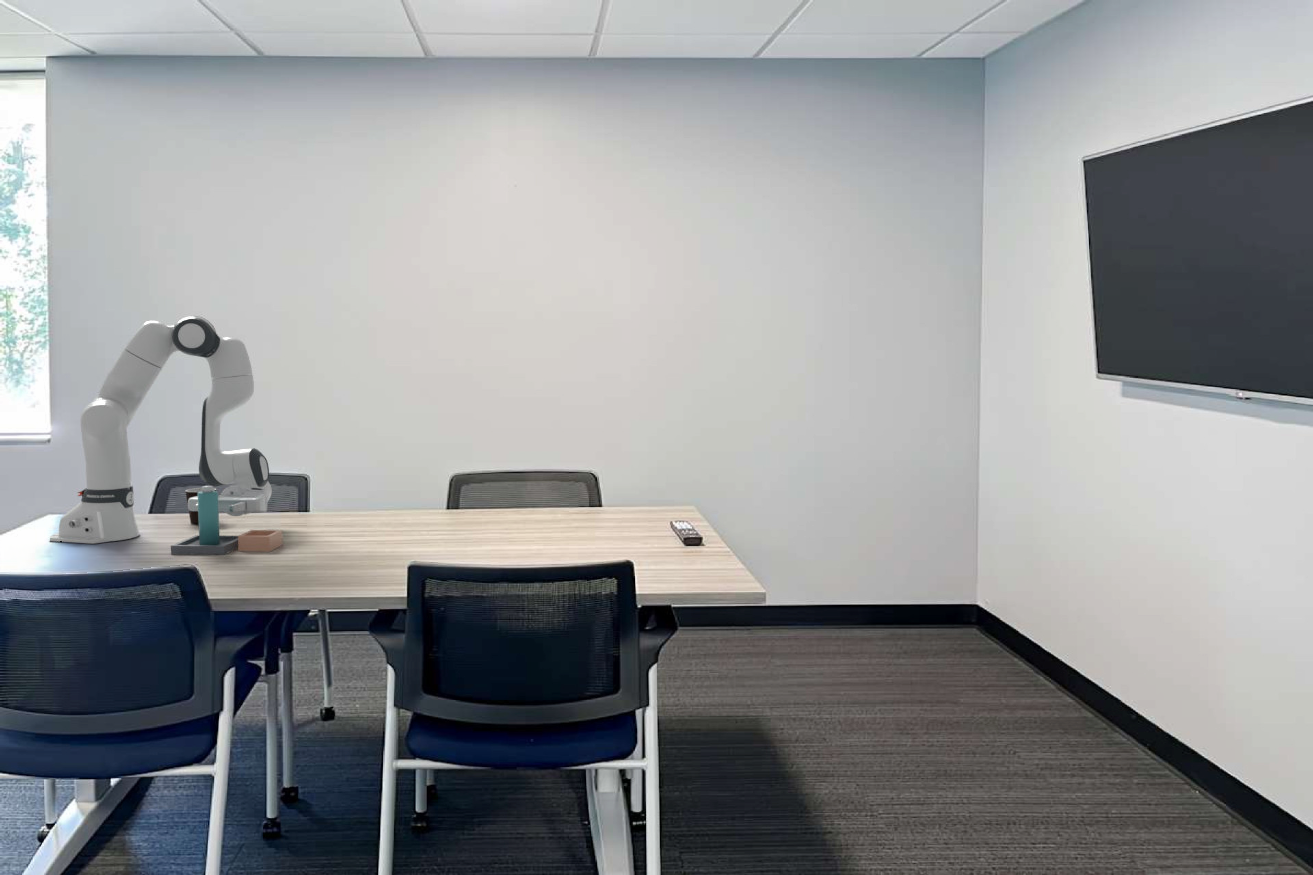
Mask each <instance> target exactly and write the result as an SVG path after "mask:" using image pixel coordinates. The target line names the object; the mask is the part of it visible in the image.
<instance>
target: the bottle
mask: <svg viewBox="0 0 1313 875" xmlns="http://www.w3.org/2000/svg"><path fill="white" fill-rule="evenodd" d="M201 488H202V492H198V518H199V525H198V535H199V544H200V545H219V544H220V536H221V535H220V514H219V513H220V512H219V508H218V495H219V492H218V491H217V490H216V491H213V488H214V487H213V486H210V485H203V486H201Z"/></svg>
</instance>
